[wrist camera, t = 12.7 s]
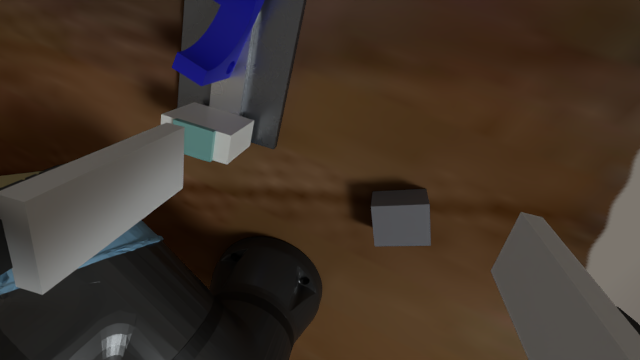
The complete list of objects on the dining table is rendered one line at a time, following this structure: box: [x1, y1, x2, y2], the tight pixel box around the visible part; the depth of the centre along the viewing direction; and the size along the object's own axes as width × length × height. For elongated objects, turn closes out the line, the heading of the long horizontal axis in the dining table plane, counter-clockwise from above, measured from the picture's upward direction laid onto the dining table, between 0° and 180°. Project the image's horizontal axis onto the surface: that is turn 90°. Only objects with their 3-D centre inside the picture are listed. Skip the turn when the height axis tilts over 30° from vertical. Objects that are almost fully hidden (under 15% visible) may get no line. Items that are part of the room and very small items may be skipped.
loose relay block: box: [371, 189, 431, 246], centre depth 39 cm, size 5×6×4 cm
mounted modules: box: [161, 102, 254, 164], centre depth 30 cm, size 26×7×6 cm, turn 166°
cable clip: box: [172, 0, 265, 86], centre depth 31 cm, size 12×4×6 cm, turn 149°
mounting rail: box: [177, 0, 306, 149], centre depth 34 cm, size 26×12×2 cm, turn 166°
